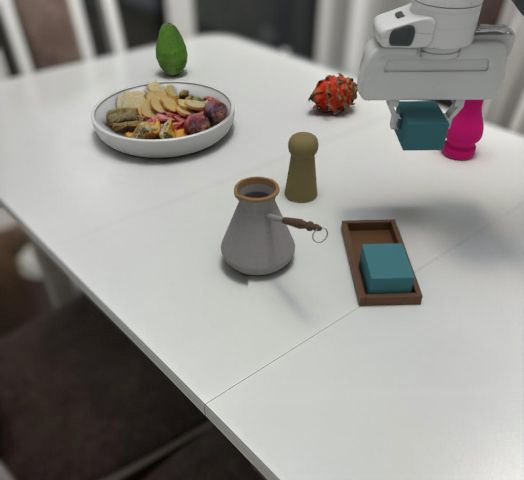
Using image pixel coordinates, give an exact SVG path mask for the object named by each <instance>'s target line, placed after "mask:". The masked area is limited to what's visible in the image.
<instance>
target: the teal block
mask: <svg viewBox="0 0 524 480" xmlns="http://www.w3.org/2000/svg"><path fill="white" fill-rule="evenodd" d="M404 246H405V245H404ZM404 246H403V244H402V243H393V244H362V249H361V255H360V262H359V268H360V272H361V276H362V280H363V284H364V288H365V292H366V294H393V293H411V290H412V286H413V282H414V278H415V277H414V274H413V271H412V269H411V266H410V263H409V260H408V258H407V255H406V252H405V249H404Z"/></svg>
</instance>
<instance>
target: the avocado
mask: <svg viewBox="0 0 524 480" xmlns="http://www.w3.org/2000/svg"><path fill="white" fill-rule="evenodd" d="M187 49H188V48H187V45H186V43H185V40H184V38H183V36H182V34H181V31H180V30H179V29H178V27H177V26H176V25H175V24H173V23H172V22H169V21H166V22H164V23H163V24H161V26H160V28H159V30H158V34H157V39H156V44H155V59H156V61H157V63H158V66H159V68H161V70H162V71H163V72H164V73H165V74H166V75H169V76H178V75H180V74H181V73H182V72H183V71H184V69H185V68H186V67H187V64H188V58H189V57H188V50H187Z"/></svg>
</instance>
